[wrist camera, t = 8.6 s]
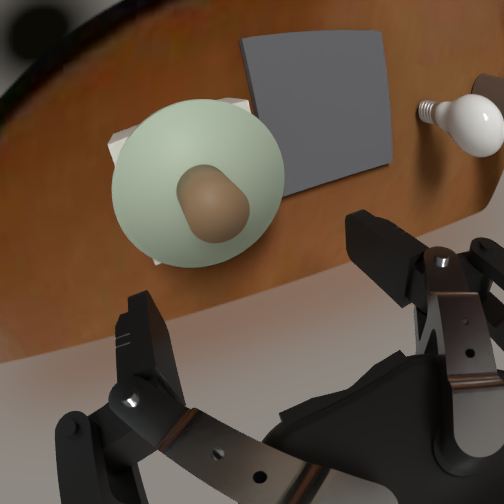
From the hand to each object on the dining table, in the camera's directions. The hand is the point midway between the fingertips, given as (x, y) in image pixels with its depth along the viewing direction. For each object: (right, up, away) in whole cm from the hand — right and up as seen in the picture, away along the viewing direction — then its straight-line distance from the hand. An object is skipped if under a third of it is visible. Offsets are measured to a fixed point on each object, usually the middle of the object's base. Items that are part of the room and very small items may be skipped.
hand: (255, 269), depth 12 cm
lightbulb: (+19, +17, +17) cm, 31 cm away
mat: (+7, +14, +13) cm, 20 cm away
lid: (-4, +5, +8) cm, 10 cm away
